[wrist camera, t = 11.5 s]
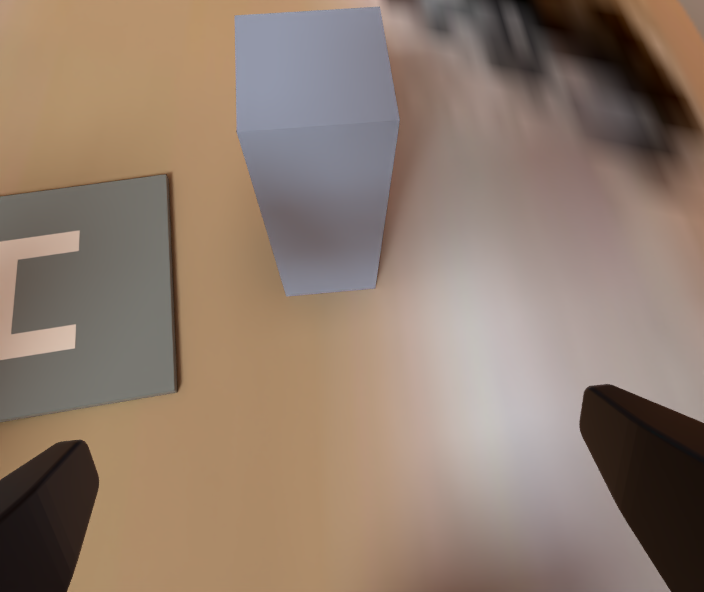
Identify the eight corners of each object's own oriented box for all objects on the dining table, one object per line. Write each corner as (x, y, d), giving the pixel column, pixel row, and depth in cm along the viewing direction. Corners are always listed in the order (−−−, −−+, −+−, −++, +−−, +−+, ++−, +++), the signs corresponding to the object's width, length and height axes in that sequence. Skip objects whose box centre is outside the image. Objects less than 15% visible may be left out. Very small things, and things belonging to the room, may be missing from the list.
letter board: (177, 392, 22) (174, 390, 22) (-193, 454, 21) (-203, 453, 21) (168, 178, 27) (165, 174, 26) (-138, 220, 26) (-146, 215, 25)
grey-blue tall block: (375, 288, 25) (399, 120, 13) (286, 296, 24) (237, 132, 13) (365, 212, 26) (379, 6, 15) (282, 218, 26) (234, 15, 15)
